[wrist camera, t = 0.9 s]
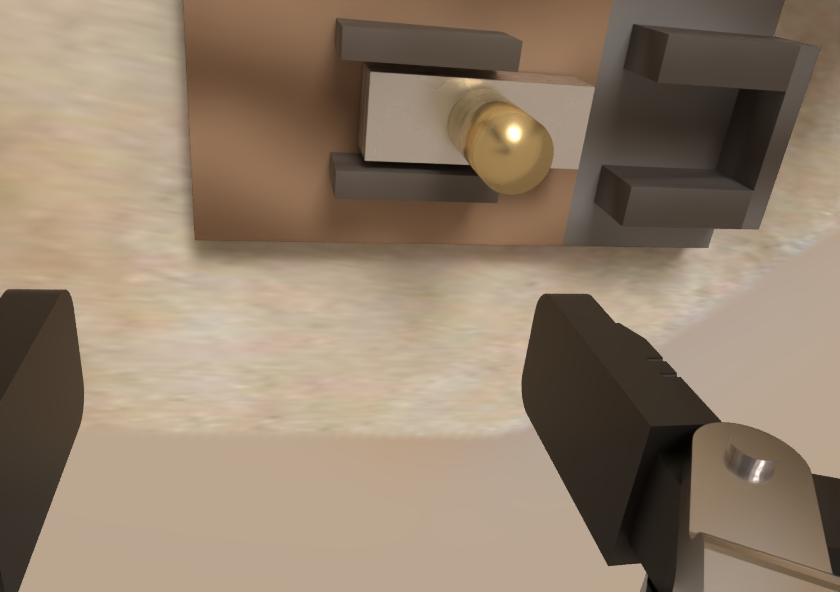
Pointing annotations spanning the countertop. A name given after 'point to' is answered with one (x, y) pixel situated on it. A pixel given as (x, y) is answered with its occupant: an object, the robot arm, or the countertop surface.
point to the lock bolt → (474, 120)
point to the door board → (499, 51)
